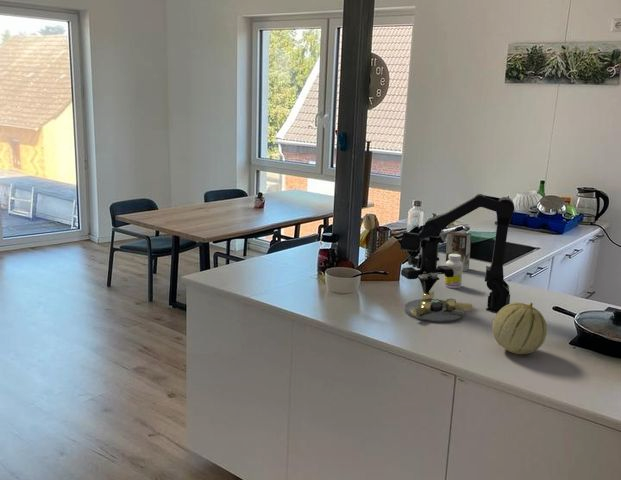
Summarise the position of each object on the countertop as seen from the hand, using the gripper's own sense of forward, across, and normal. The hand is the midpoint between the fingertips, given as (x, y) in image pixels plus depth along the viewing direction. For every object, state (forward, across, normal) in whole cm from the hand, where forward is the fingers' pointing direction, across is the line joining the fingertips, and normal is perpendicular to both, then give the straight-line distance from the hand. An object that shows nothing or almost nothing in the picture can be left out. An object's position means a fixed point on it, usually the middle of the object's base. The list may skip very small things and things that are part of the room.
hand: (425, 294), depth 209 cm
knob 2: (+1, 0, +3) cm, 3 cm away
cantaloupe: (+2, -4, +47) cm, 47 cm away
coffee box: (+3, -37, -37) cm, 53 cm away
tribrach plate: (+3, +2, +10) cm, 11 cm away
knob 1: (+1, +9, +14) cm, 17 cm away
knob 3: (+1, -5, +15) cm, 15 cm away
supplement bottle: (+3, -21, -14) cm, 26 cm away
